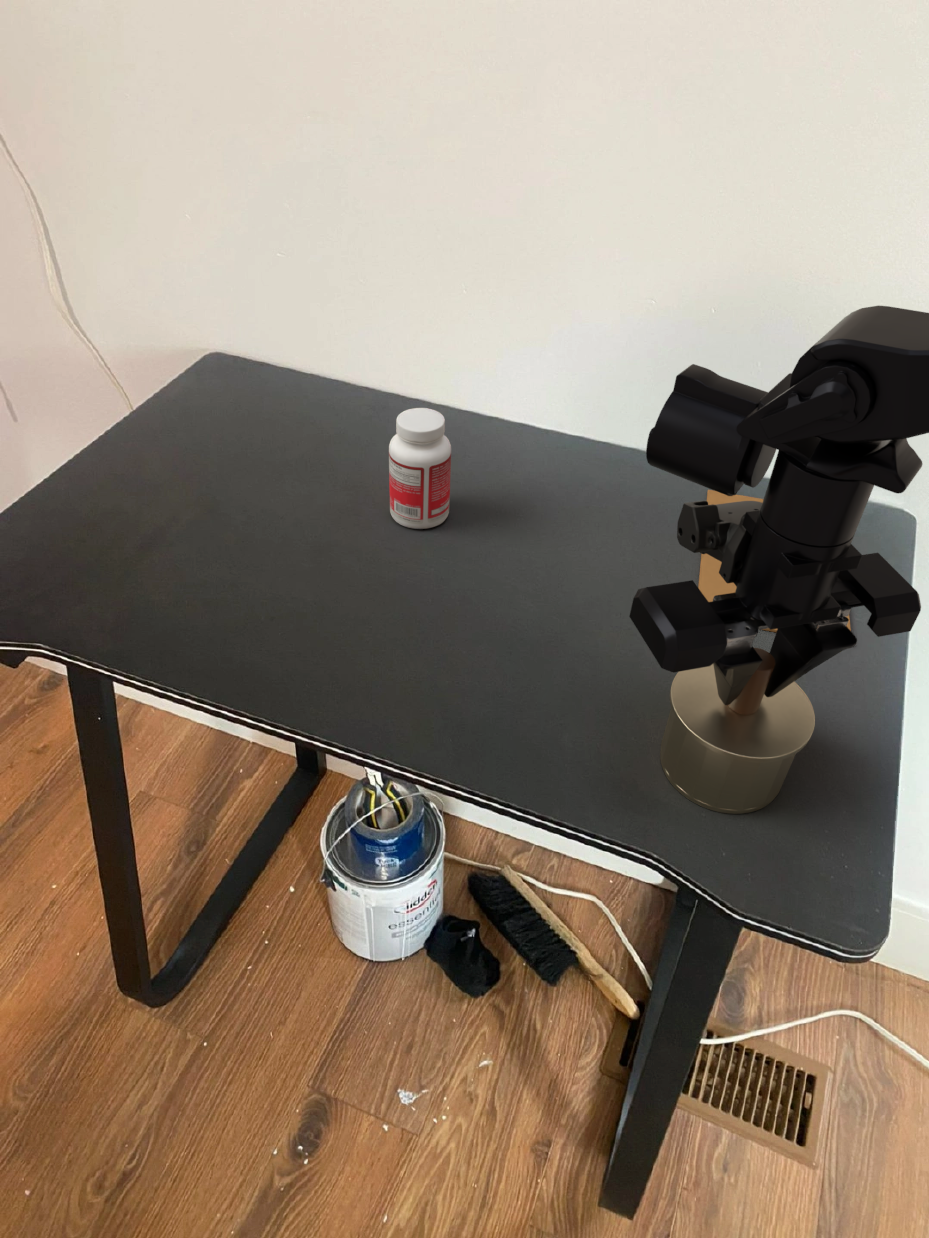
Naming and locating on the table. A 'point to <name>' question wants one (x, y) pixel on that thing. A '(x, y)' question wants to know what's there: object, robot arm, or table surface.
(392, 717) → the table surface
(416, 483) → the pill bottle
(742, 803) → the pot
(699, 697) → the lid
